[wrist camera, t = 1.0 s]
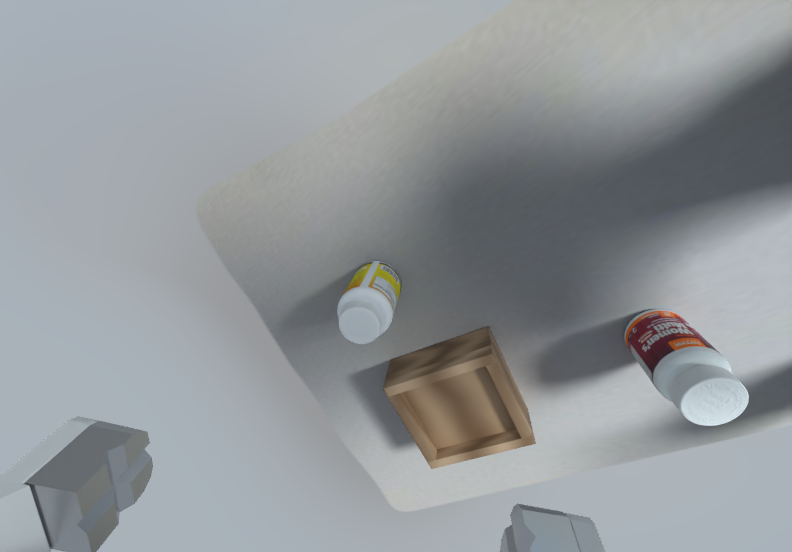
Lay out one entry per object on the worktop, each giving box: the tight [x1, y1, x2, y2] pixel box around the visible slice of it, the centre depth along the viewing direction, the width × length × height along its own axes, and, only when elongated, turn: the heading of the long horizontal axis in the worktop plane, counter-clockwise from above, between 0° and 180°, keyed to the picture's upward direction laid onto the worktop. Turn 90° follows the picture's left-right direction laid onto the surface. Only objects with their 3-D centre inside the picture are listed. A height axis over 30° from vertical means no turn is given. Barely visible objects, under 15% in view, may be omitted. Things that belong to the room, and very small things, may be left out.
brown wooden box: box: [383, 326, 536, 469], centre depth 47 cm, size 13×13×6 cm
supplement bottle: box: [337, 261, 401, 344], centre depth 40 cm, size 6×6×10 cm
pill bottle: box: [624, 309, 749, 426], centre depth 38 cm, size 6×6×11 cm
